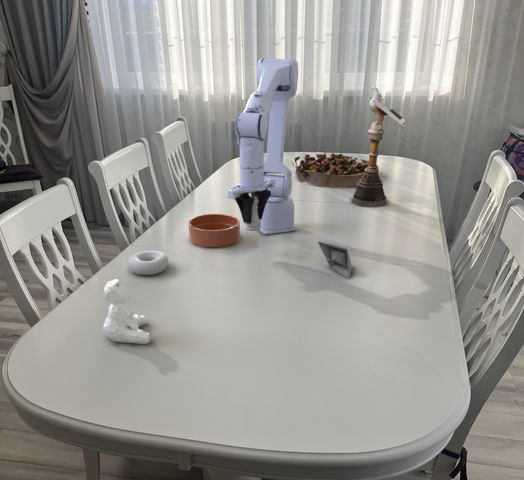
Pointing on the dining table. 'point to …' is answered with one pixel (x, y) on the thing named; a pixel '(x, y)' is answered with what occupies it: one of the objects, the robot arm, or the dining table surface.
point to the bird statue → (374, 157)
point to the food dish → (330, 170)
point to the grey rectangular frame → (337, 258)
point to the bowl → (214, 230)
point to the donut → (148, 262)
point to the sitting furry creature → (122, 317)
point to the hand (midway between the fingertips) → (252, 220)
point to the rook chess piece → (254, 218)
